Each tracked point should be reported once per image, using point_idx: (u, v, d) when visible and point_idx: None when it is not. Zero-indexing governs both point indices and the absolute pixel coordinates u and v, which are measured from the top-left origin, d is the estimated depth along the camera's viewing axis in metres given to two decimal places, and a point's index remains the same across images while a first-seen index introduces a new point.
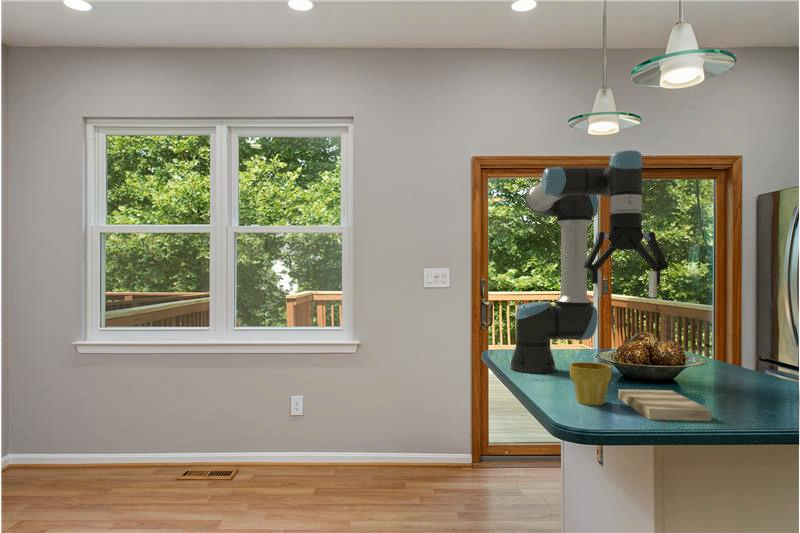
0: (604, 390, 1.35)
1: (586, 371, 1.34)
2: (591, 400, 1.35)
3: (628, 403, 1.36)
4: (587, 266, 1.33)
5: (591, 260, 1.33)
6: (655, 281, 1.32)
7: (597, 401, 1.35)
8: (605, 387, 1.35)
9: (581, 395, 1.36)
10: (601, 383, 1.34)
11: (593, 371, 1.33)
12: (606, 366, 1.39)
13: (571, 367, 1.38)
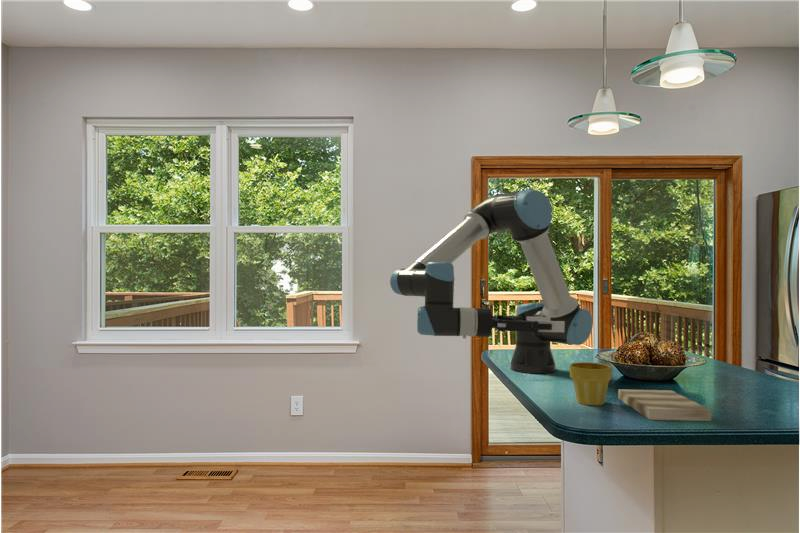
0: (604, 390, 1.35)
1: (586, 371, 1.34)
2: (591, 400, 1.35)
3: (628, 403, 1.36)
4: None
5: None
6: None
7: (597, 401, 1.35)
8: (605, 387, 1.35)
9: (581, 395, 1.36)
10: (601, 383, 1.34)
11: (593, 371, 1.33)
12: (606, 366, 1.39)
13: (571, 367, 1.38)
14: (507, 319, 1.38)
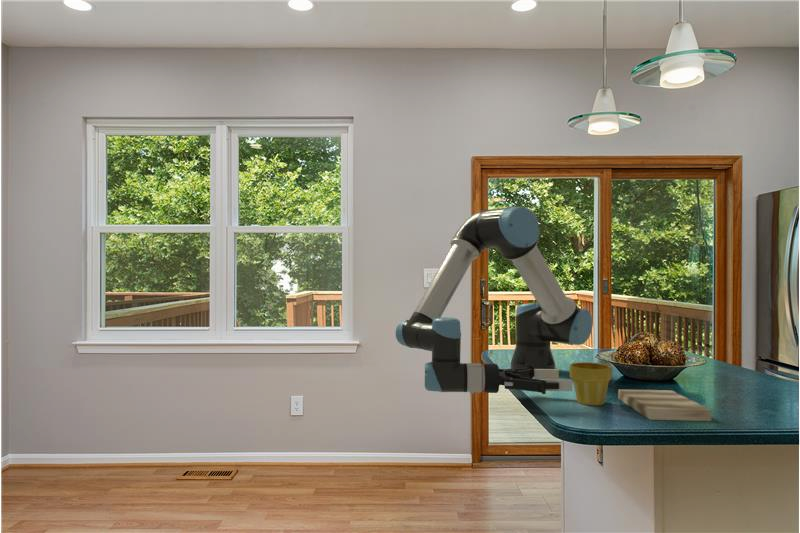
0: (604, 390, 1.35)
1: (586, 371, 1.34)
2: (591, 400, 1.35)
3: (628, 403, 1.36)
4: None
5: None
6: None
7: (597, 401, 1.35)
8: (605, 387, 1.35)
9: (581, 395, 1.36)
10: (601, 383, 1.34)
11: (593, 371, 1.33)
12: (606, 366, 1.39)
13: (571, 367, 1.38)
14: None
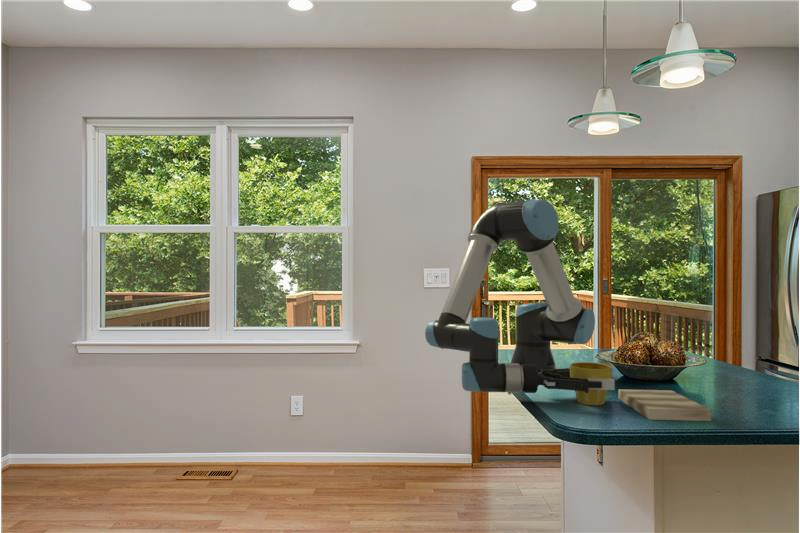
0: (604, 390, 1.35)
1: (586, 371, 1.34)
2: (591, 400, 1.35)
3: (628, 403, 1.36)
4: None
5: None
6: None
7: (597, 401, 1.35)
8: None
9: (581, 395, 1.36)
10: None
11: (593, 371, 1.33)
12: (606, 366, 1.39)
13: (571, 367, 1.38)
14: None
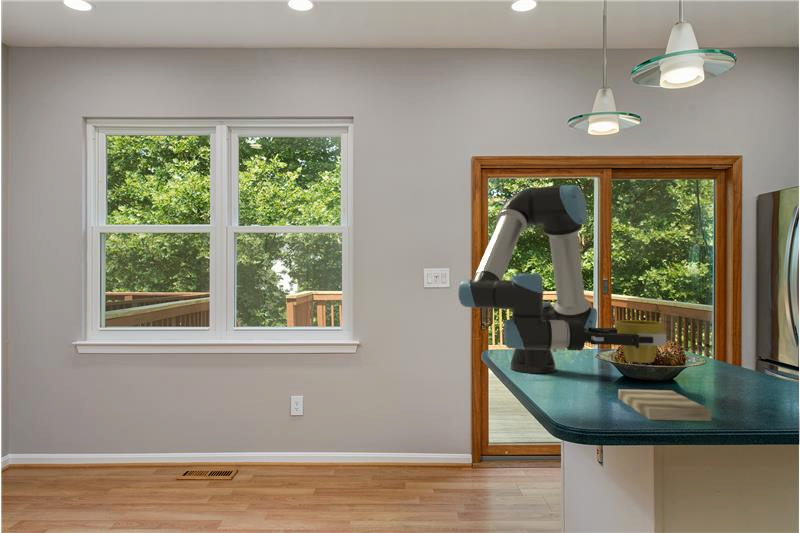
0: (654, 347, 1.30)
1: (636, 326, 1.29)
2: (641, 357, 1.30)
3: (628, 403, 1.36)
4: None
5: None
6: None
7: (647, 358, 1.30)
8: None
9: (630, 352, 1.31)
10: None
11: (643, 326, 1.28)
12: (656, 323, 1.34)
13: (619, 323, 1.33)
14: (600, 332, 1.32)
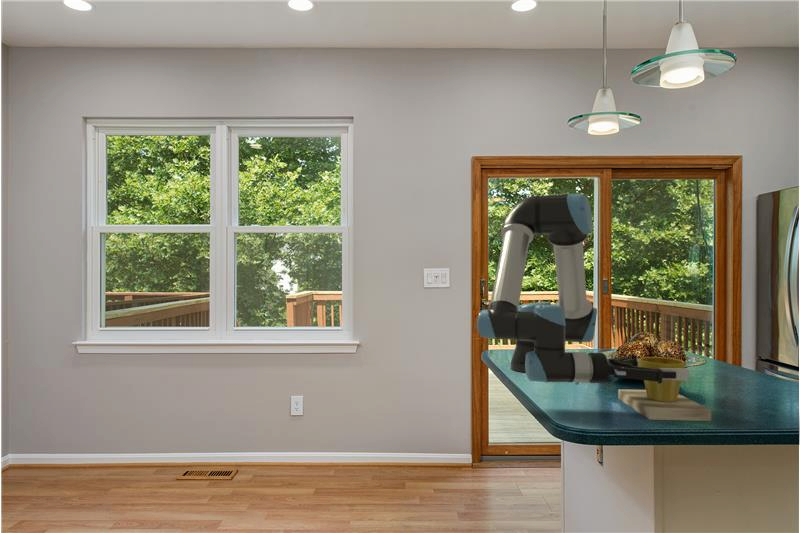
0: (678, 386, 1.29)
1: (659, 366, 1.28)
2: (664, 396, 1.29)
3: (628, 403, 1.36)
4: None
5: None
6: None
7: (670, 397, 1.29)
8: (679, 383, 1.29)
9: (653, 391, 1.31)
10: None
11: (667, 366, 1.28)
12: (678, 361, 1.33)
13: (642, 362, 1.32)
14: None
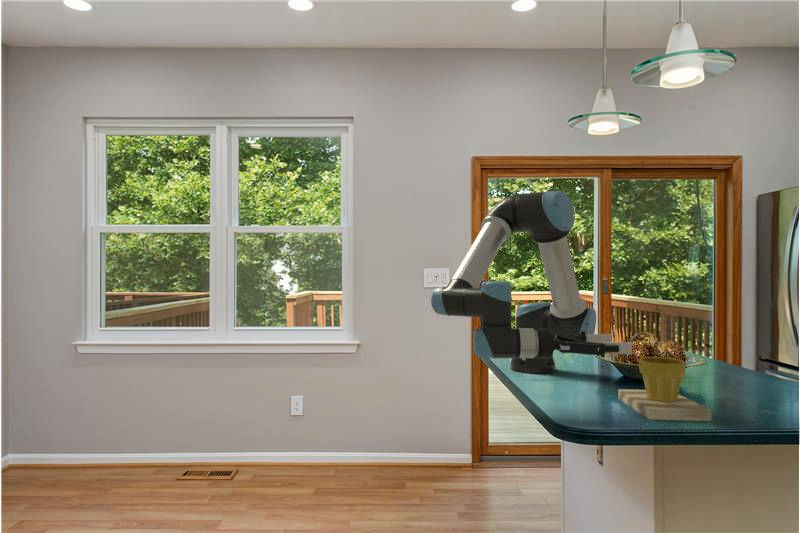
0: (678, 386, 1.29)
1: (659, 366, 1.28)
2: (664, 396, 1.29)
3: (628, 403, 1.36)
4: None
5: None
6: None
7: (670, 397, 1.29)
8: (679, 383, 1.29)
9: (653, 391, 1.31)
10: (675, 378, 1.28)
11: (667, 366, 1.28)
12: (678, 361, 1.33)
13: (642, 362, 1.32)
14: None
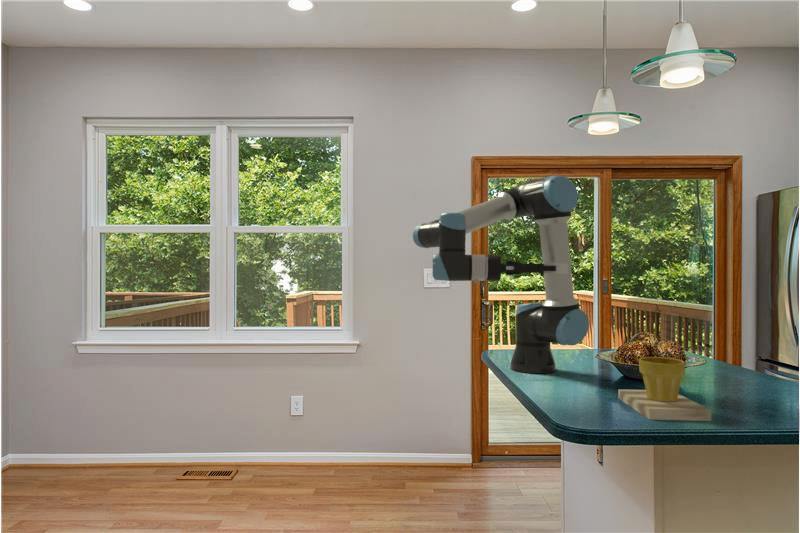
0: (678, 386, 1.29)
1: (659, 366, 1.28)
2: (664, 396, 1.29)
3: (628, 403, 1.36)
4: None
5: None
6: (552, 273, 1.44)
7: (670, 397, 1.29)
8: (679, 383, 1.29)
9: (653, 391, 1.31)
10: (675, 378, 1.28)
11: (667, 366, 1.28)
12: (678, 361, 1.33)
13: (642, 362, 1.32)
14: None
